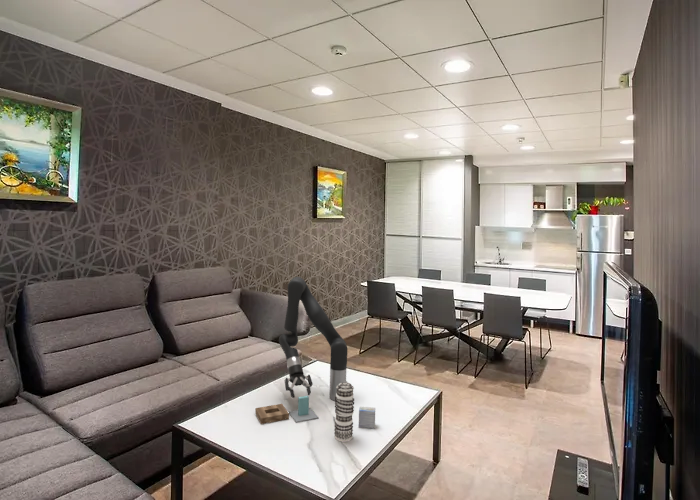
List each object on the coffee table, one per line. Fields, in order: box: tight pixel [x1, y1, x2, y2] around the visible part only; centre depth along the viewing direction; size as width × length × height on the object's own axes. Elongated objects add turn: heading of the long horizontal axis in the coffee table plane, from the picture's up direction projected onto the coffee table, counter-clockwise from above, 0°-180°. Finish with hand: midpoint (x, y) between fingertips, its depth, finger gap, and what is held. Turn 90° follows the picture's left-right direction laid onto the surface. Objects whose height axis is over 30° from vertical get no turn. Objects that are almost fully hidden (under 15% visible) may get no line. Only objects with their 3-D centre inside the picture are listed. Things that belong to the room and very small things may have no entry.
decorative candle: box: [333, 381, 355, 443], centre depth 193 cm, size 9×9×25 cm
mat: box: [287, 407, 319, 424], centre depth 213 cm, size 12×12×1 cm
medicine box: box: [358, 406, 376, 429], centre depth 204 cm, size 8×4×9 cm, turn 84°
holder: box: [254, 403, 290, 425], centre depth 211 cm, size 14×12×3 cm
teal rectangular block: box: [297, 395, 310, 416], centre depth 213 cm, size 5×2×9 cm, turn 116°
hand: (301, 396), depth 216 cm, fingers open, 8 cm apart
